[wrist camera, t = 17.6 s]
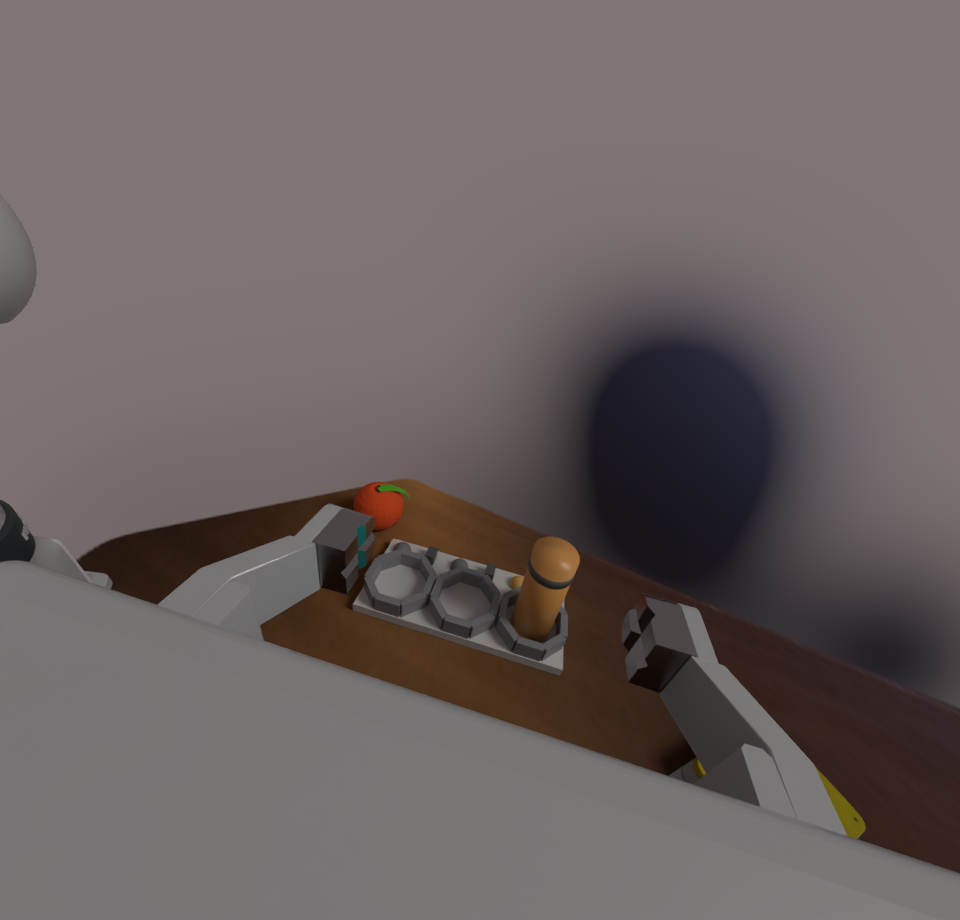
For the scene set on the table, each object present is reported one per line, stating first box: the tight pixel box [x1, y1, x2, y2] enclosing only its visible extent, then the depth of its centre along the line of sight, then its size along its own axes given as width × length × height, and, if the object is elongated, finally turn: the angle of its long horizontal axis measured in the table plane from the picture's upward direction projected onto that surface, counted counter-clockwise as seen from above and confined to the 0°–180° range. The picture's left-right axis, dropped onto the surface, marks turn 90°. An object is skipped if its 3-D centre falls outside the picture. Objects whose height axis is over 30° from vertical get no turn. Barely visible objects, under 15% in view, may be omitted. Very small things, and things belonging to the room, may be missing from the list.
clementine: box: [353, 482, 411, 530], centre depth 52 cm, size 8×7×7 cm
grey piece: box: [353, 538, 568, 676], centre depth 44 cm, size 24×11×3 cm, turn 77°
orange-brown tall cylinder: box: [510, 537, 580, 643], centre depth 39 cm, size 5×5×12 cm
